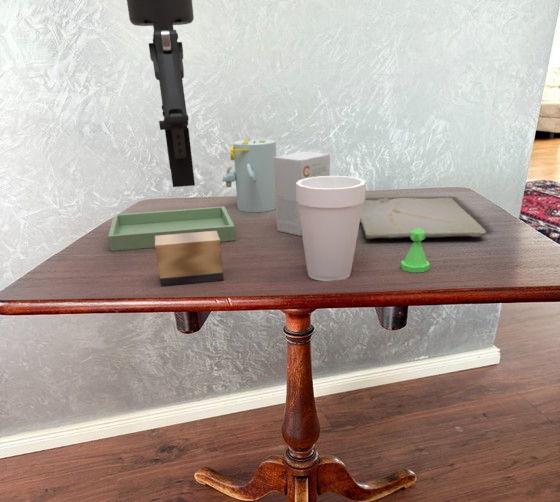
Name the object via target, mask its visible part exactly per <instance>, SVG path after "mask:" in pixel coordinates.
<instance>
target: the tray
mask: <svg viewBox="0 0 560 502" xmlns="http://www.w3.org/2000/svg"><path fill="white" fill-rule="evenodd" d="M207 231H217V233H218V236H219V238H220V243H223V242H235V241H236V240H237V239H236V226H235V224H234V222H233V219H232V218H231V216H230V214H229V213H228V210H227V208H226V206H211V207H197V208H185V209H184V208H183V209H172V210H159V211H144V212H132V213H119V214H118V213H117V214H113V217H112V220H111V224H110V229H109V232H108V235H107V238H108V244H109V248H110V252H117V251H118V252H119V251H128V250H129V251H130V250H142V249H152V248H153V249H154V248H155V236H158V235H170V234H182V233H194V232H207Z"/></svg>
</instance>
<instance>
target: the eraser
mask: <svg viewBox="0 0 560 502" xmlns="http://www.w3.org/2000/svg"><path fill="white" fill-rule="evenodd" d="M154 248H155V249H154V250H155V256H156V262H157V263H156V264H157V268H158V269H157V270H158V276H159V281H160V286H161V287H170V286H179V285H190V284H201V283H210V282H211V283H212V282H221V281H225V280H224V269H223V259H222V257H223V256H222V245H221V242H220V238H219V236H218V233H217V231H207V232H194V233H182V234H170V235H158V236H155V247H154Z"/></svg>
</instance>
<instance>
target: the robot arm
mask: <svg viewBox="0 0 560 502" xmlns="http://www.w3.org/2000/svg"><path fill="white" fill-rule="evenodd" d="M126 5H127V11H128V18H129V21H130V23H131V24H132V25H134V26H138V27H153V28H152V29H153V34H152V42H149V43H148V51H149V56H150V61H152V63H153V65H152V66H153V71H154V77H155V79H156V80H157V81H159V83H158V84H159V90H160V97H161V110H162V116H163V120H159V121H158V125H159V130H160V131H164V134H165V142H166V149H167V157H168V165H169V169H170V174H171V182H172V183H171V184H172V188H181V187H194V186H196V183H195V173H194V165H193V156H192V147H191V139H190V129H189V127H188V126H189V115H188V112H187V104H186V98H185V89H184V83H183V79H184V78H185V69H184V62H183V60H184V48H183V42H182V41H178V40H179V33H178V32H177V30H176V29H174V26H181V25H183V26H184V25H189V24H191V23H192V22H193V21H194V20H195V19H194V18H195V17H194V6H193V0H126Z"/></svg>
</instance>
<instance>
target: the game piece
mask: <svg viewBox="0 0 560 502" xmlns="http://www.w3.org/2000/svg"><path fill="white" fill-rule="evenodd" d="M409 238H410V240H411V241H413V243H412V245H411V246H410V249H409V250H408V252H407V254H406V256H405V258H404V259H403V260H401V261H400V269H401V270H402V271H404V272H409V273H411V274H412V273H425V272H427V271H429V270H430V268H431V264H430V262H429V261H428V260H427V258H426V254H425V251H424V248H423V245H422V241H423V240H425V239H426V237H425V232H424V231H423V230H421V229H420V228H417V229H415V230H413V231H411V232H410V237H409Z"/></svg>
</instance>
